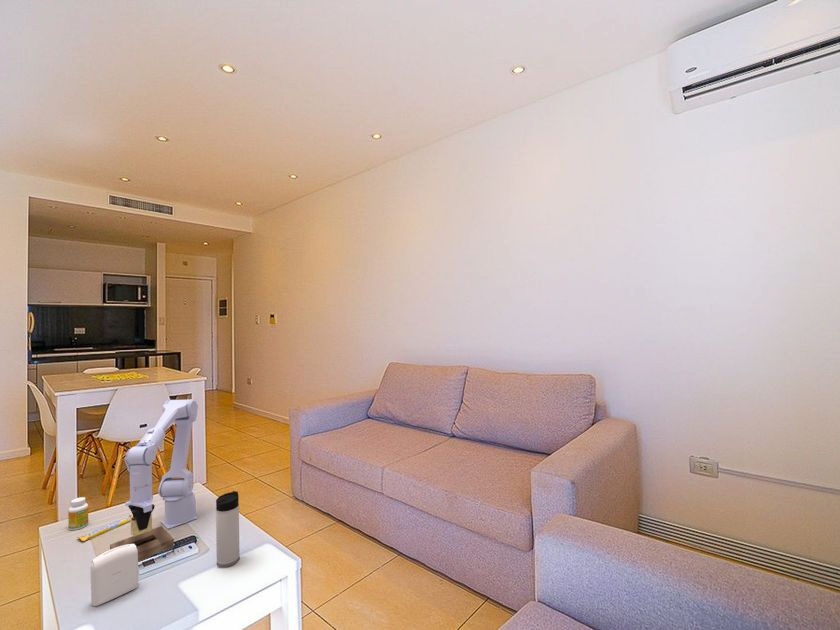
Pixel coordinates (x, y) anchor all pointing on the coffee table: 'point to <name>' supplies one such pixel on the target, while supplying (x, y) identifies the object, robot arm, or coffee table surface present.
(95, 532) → the candy bar
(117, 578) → the photo printer
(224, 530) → the travel mug
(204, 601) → the coffee table surface
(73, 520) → the supplement bottle
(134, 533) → the tan flat rectangular block
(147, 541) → the walnut coin box
